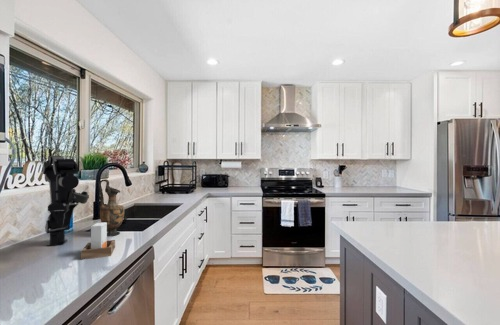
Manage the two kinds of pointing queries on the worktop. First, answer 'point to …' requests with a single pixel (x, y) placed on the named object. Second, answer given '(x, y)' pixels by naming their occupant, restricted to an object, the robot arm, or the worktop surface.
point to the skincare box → (99, 235)
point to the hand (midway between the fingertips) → (65, 223)
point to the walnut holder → (98, 251)
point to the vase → (110, 209)
